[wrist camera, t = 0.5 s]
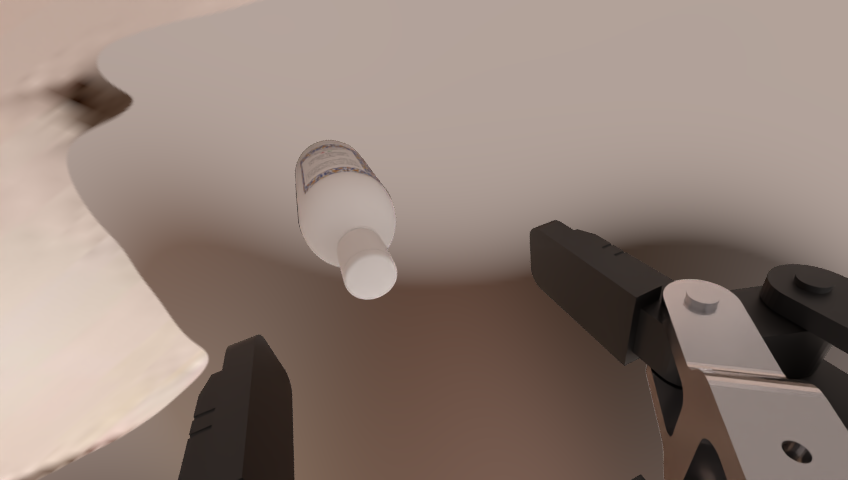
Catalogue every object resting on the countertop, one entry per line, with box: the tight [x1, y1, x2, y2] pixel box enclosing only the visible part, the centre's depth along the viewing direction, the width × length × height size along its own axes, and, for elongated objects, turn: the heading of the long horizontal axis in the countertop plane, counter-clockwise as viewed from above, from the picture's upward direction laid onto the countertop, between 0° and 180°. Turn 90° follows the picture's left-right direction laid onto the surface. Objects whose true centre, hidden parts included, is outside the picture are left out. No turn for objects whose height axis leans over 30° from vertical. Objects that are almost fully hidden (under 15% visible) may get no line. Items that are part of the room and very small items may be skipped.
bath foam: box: [295, 140, 397, 299], centre depth 27 cm, size 7×7×20 cm
